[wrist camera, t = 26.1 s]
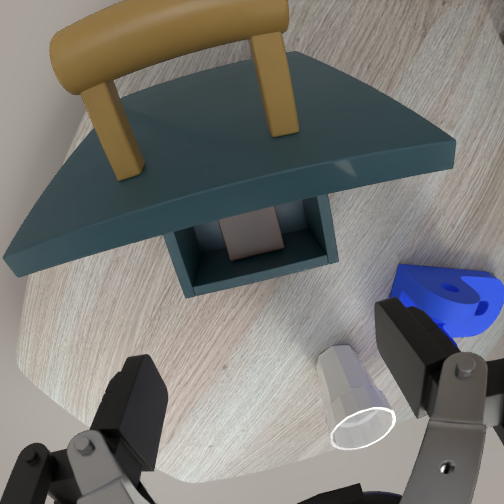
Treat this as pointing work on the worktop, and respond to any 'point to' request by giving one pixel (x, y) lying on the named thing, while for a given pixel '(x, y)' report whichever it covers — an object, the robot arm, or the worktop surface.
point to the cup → (351, 400)
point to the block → (251, 233)
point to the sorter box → (258, 266)
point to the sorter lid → (208, 130)
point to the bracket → (451, 297)
